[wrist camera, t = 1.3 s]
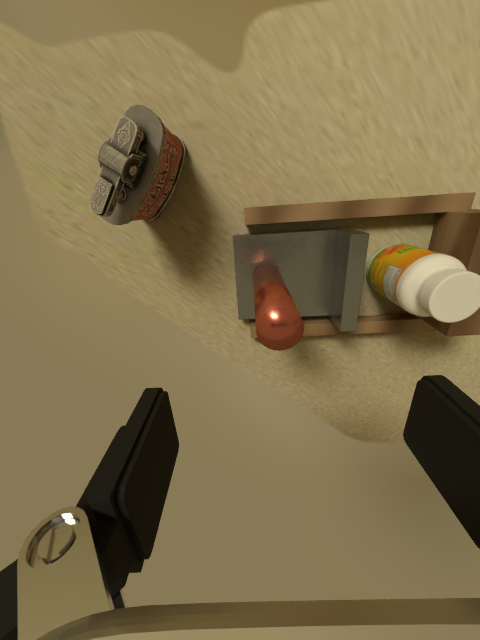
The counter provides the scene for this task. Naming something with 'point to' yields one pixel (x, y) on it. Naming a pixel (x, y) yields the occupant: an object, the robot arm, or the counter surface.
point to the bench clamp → (447, 238)
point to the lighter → (137, 169)
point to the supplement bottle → (425, 282)
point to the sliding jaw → (299, 280)
